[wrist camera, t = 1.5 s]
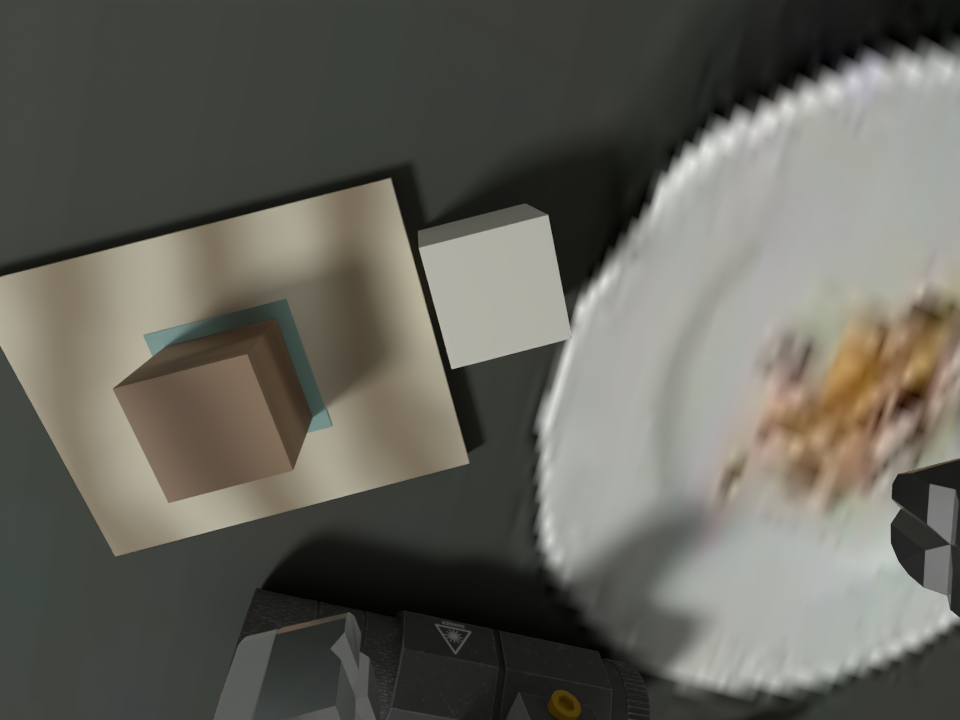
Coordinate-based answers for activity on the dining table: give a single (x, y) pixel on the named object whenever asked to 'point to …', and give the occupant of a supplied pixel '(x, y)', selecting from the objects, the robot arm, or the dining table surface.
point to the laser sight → (469, 667)
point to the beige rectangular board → (228, 305)
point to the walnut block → (218, 410)
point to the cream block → (495, 284)
